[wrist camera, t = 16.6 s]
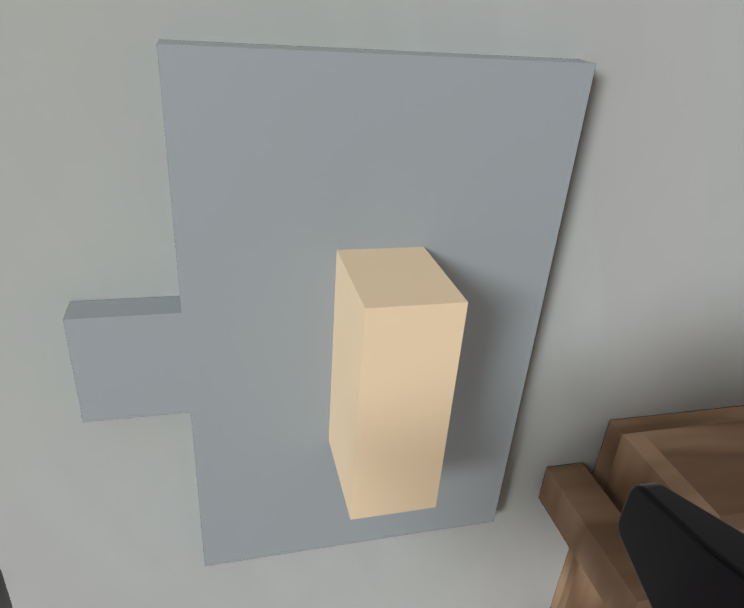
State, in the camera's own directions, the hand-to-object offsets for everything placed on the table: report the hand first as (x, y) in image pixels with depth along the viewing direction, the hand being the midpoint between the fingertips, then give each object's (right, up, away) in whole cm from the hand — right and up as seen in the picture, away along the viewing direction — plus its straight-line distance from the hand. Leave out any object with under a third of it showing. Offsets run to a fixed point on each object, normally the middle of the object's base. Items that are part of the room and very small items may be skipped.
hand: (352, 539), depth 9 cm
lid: (-2, +2, +14) cm, 14 cm away
